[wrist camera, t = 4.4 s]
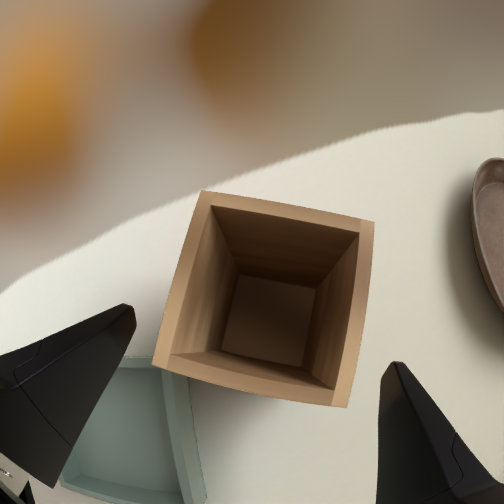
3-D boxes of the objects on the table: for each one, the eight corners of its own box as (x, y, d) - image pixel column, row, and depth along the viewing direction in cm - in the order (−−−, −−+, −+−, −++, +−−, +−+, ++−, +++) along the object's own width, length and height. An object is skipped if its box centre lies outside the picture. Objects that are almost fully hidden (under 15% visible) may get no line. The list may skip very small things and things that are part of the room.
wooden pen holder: (305, 374, 17) (346, 408, 7) (213, 355, 17) (151, 364, 8) (323, 285, 18) (374, 222, 9) (234, 267, 19) (201, 190, 10)
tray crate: (207, 497, 14) (197, 517, 11) (81, 475, 14) (61, 486, 11) (185, 355, 17) (169, 357, 14) (60, 353, 18) (35, 352, 15)
